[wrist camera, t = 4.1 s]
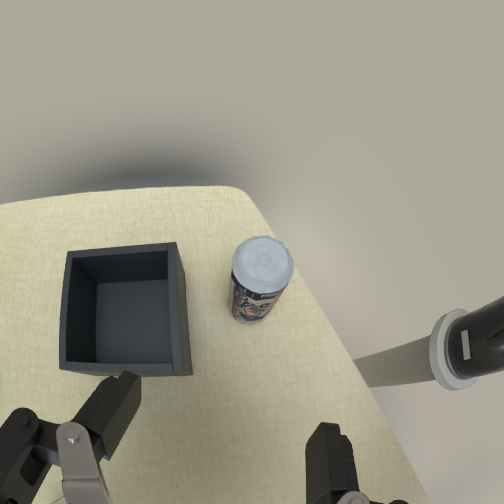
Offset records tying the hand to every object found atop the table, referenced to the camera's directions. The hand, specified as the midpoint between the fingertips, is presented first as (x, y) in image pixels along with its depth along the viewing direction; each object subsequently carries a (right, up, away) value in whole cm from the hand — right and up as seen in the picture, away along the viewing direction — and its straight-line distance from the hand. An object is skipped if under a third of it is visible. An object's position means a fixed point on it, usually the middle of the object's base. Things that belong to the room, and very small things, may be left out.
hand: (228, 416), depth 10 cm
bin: (-12, -1, +18) cm, 22 cm away
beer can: (+1, +1, +21) cm, 21 cm away
